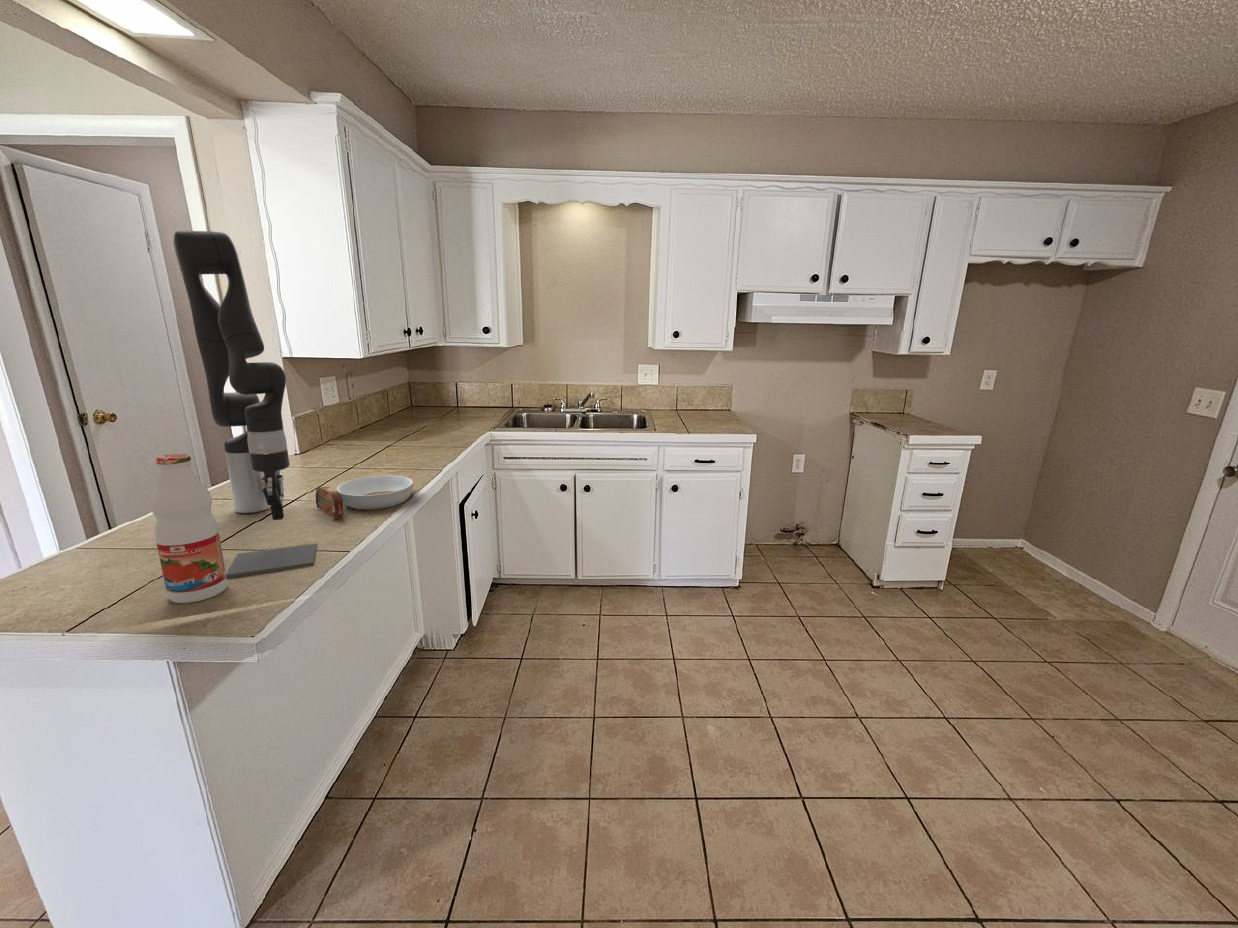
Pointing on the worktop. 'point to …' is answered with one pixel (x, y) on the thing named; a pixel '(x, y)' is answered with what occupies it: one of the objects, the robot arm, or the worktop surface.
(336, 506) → the tin
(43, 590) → the worktop surface
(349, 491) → the serving bowl
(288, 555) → the mat
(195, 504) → the fruit juice
